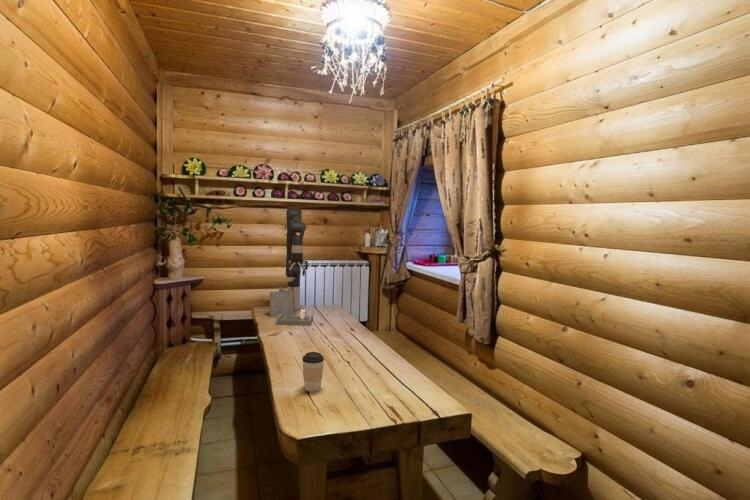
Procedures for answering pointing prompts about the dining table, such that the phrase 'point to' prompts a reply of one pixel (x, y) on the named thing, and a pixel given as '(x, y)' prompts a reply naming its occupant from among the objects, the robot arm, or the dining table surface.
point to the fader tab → (302, 314)
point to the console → (294, 320)
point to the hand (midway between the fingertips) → (296, 275)
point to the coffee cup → (312, 371)
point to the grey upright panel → (281, 303)
